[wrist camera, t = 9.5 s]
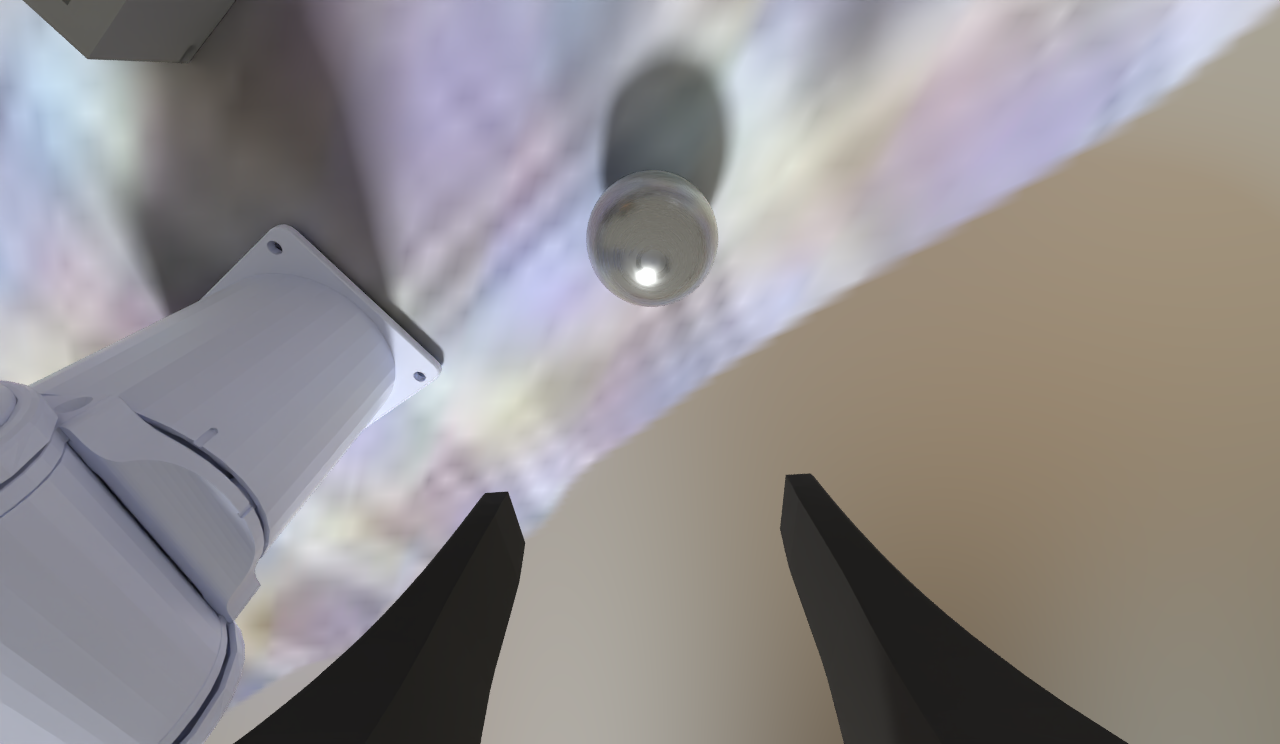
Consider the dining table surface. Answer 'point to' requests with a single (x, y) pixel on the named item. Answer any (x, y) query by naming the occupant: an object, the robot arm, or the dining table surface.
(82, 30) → the bin
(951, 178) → the dining table surface
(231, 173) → the dining table surface
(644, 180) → the steel ball
